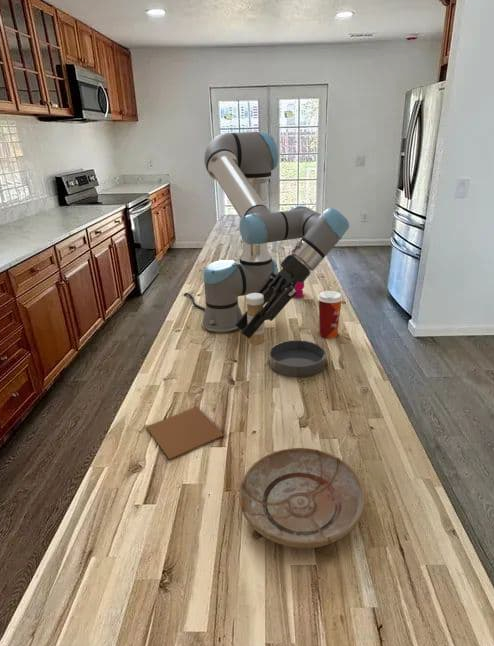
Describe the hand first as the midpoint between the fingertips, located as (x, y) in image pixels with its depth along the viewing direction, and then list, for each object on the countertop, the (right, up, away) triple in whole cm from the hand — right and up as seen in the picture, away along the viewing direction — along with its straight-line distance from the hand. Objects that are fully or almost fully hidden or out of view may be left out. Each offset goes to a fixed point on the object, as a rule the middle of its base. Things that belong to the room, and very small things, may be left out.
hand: (242, 331), depth 114 cm
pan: (+16, -10, +21) cm, 28 cm away
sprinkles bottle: (+4, -3, +3) cm, 6 cm away
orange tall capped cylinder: (+28, -1, +38) cm, 48 cm away
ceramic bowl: (+13, -34, -29) cm, 47 cm away
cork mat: (-14, -24, -8) cm, 29 cm away
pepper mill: (+20, +16, +74) cm, 78 cm away
